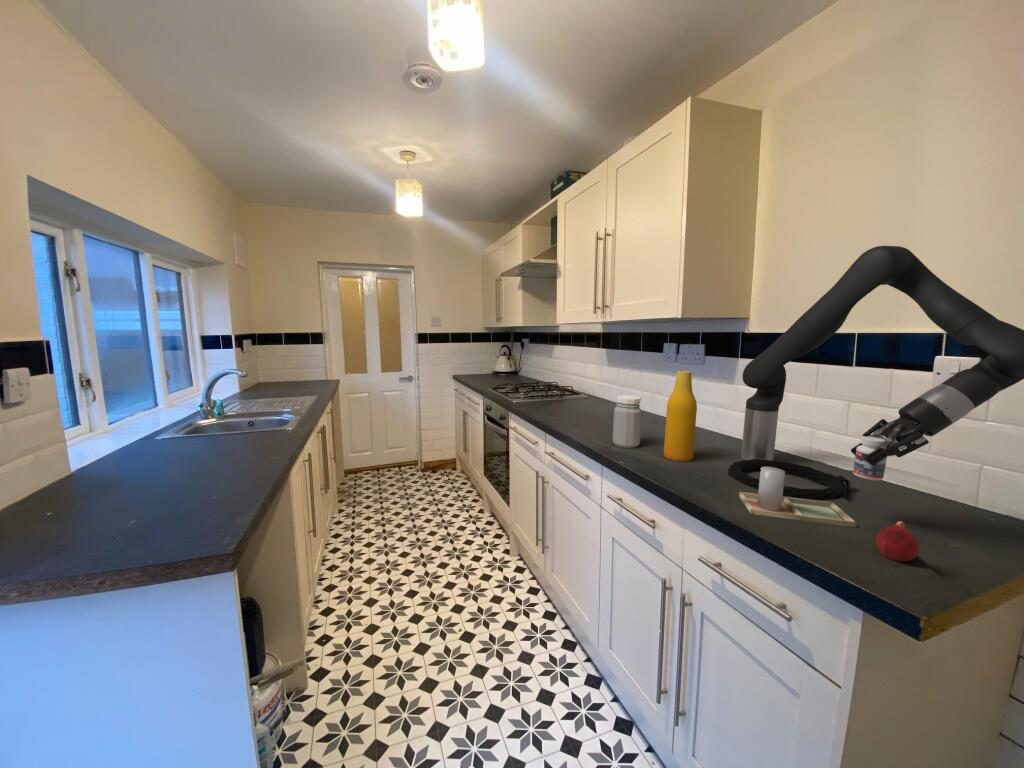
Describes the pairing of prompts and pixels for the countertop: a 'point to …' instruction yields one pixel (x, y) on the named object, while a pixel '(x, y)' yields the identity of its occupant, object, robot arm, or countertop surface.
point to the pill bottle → (863, 466)
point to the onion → (897, 543)
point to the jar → (627, 421)
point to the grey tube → (771, 488)
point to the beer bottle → (681, 420)
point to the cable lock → (835, 483)
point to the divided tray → (801, 510)
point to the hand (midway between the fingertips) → (860, 457)
